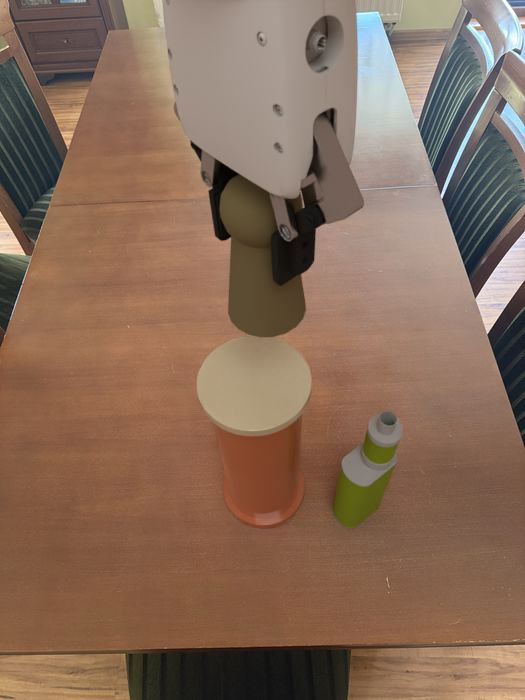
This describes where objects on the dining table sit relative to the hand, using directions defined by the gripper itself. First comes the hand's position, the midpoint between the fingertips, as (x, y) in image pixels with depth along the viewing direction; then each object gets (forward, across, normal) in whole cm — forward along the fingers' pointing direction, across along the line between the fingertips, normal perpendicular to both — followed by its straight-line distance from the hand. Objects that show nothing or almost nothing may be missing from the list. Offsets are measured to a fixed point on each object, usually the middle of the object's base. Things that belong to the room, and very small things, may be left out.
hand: (263, 249), depth 35 cm
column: (+37, 0, +2) cm, 37 cm away
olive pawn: (+6, 0, 0) cm, 6 cm away
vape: (+37, -9, -5) cm, 39 cm away
